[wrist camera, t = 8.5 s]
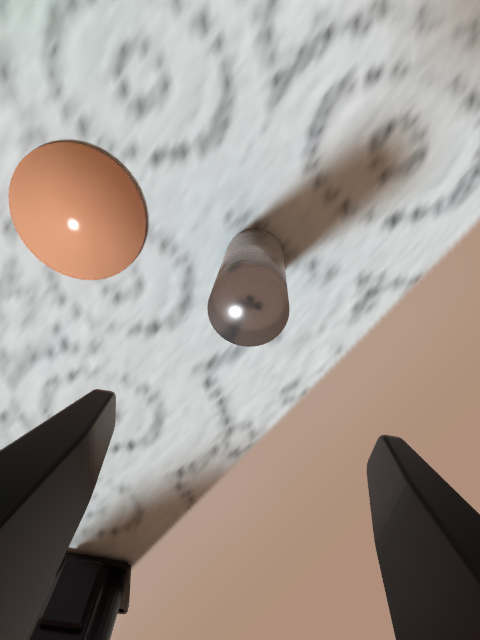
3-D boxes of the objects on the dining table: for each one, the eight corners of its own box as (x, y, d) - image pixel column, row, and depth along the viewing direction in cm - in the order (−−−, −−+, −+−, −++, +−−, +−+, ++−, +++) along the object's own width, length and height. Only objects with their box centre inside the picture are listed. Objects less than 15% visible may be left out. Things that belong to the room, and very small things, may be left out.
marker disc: (142, 288, 19) (142, 289, 19) (17, 267, 19) (16, 268, 19) (149, 156, 16) (149, 156, 16) (2, 130, 16) (0, 129, 16)
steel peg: (282, 285, 19) (287, 347, 13) (227, 284, 19) (209, 345, 13) (284, 229, 18) (290, 271, 12) (225, 229, 18) (205, 271, 12)
